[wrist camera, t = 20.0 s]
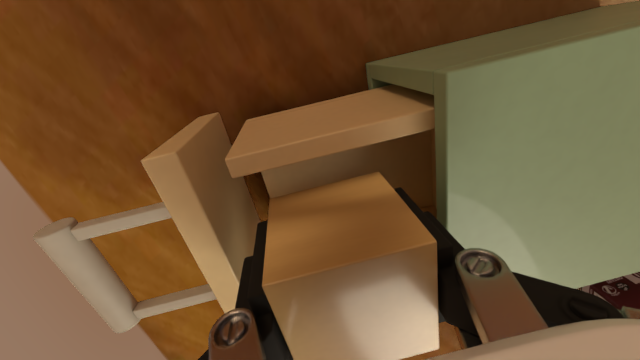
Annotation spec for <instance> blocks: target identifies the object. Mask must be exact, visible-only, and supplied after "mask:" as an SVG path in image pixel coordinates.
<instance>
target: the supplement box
mask: <svg viewBox="0 0 640 360" xmlns="http://www.w3.org/2000/svg"><path fill="white" fill-rule="evenodd" d="M582 291H584V292H587V293H590V294H593V295H596V296H598V297H600V298H602V299H603V300H605V301H607V302H609V303H610V304H611V305H613V306H614V307H615V308H616V309H619V310H622V307H623V306H625V307H630V308H635V309H640V272H636V273H633V274H629V275H625V276H621V277H618V278H614V279H610V280H606V281H603V282H599V283H595V284H591V285H588V286H584V287H582Z"/></svg>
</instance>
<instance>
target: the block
mask: <svg viewBox="0 0 640 360" xmlns="http://www.w3.org/2000/svg"><path fill="white" fill-rule="evenodd" d="M262 288H263V290H264V292H265V295H266V297H267V299H268V302H269V304H270V306H271V309H272V311H273V313H274V315H275V318H276V320H277V322H278V325H279V327H280V329H281V332H282V334H283V336H284V339H285V341H286V343H287V346H288V348H289V350H290V353H291V355H292V357H293V360H400V359H403V358H407V357H411V356H415V355H418V354H422V353H426V352H430V351H433V350H437V349H439V313H438V269H437V241H436V240H435V238H434V237H433V236H432V235H431V234H430V232H429V231H428V230H427V229H426V228H425V226H424V225H423V224H422V223H421V221H420V220H419V219H418V218H417V217H416V215H415V214H414V213H413V212H412V211H411V209H410V208H409V207H408V206H407V205H406V203H405V202H404V201H403V200H402V199H401V197H400V196H399V195H398V194H397V193H396V191H395V190H394V189H393V188H392V186H391V185H390V184H389V183H388V182H387V180H386V179H385V178H384V177H383V176H382V174H381V173H380V172H374V173H370V174H366V175H362V176H358V177H354V178H350V179H346V180H342V181H338V182H334V183H330V184H326V185H322V186H318V187H314V188H310V189H306V190H302V191H298V192H294V193H290V194H286V195H282V196H278V197H274V198H270V200H269V212H268V223H267V235H266V246H265V257H264V269H263V280H262Z"/></svg>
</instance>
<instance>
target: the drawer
mask: <svg viewBox="0 0 640 360" xmlns="http://www.w3.org/2000/svg"><path fill="white" fill-rule="evenodd" d="M141 163H142V165H143V166H144V168H145V170H146V172H147V174H148V175H149V177H150V179H151V181H152V183H153V184H154V186H155V188H156V190H157V192H158V193H159V195H160V197H161V199H162V201H163V202H161V203H157V204H153V205H149V206H145V207H141V208H137V209H133V210H129V211H125V212H121V213H117V214H113V215H109V216H105V217H101V218H97V219H93V220H89V221H85V222H81V223H78V222H77V220H76V219H75V218H72V217H70V218H65V219H61V220H58V221H56V222H53V223H51V224H49V225H47V226H45V227H44V228H42V229H40V230H39V231H38V232H36V233H35V234H34V236H33V239H34V240H35V241H36V242H37V243H38V245H39V246H40V247H41V248H42V249H43V250H44V251H45V252H46V254H47V255H48V256H49V257H50V258H51V260H52V261H53V262H54V263H55V264H56V265H57V267H58V268H59V269H60V270H61V271H62V272H63V273H64V274H65V276H66V277H67V278H68V279H69V280H70V281H71V283H72V284H73V285H74V286H75V287H76V288H77V290H79V292H80V293H81V294H82V295H83V296H84V298H85V299H86V300H87V301H88V302H89V303H90V305H91V306H92V307H93V308H94V309H95V310H96V311H97V313H98V314H99V315H100V316H101V317H102V318H103V319H104V321H105V322H106V323H107V324H108V325H109V326H110V327H111V329H112V330H113V331H114V332H116V333H122V332H125V331H127V330H129V329H131V328H132V327H134V326H135V325H136V324H137V323H138V322H139V321H140V320H141V318H145V317H149V316H153V315H157V314H161V313H164V312H168V311H172V310H176V309H180V308H184V307H188V306H191V305H195V304H199V303H203V302H207V301H211V300H215V299H217V300H218V302H219V304H220V306H221V307H222V309H223V311H224V313H227V312H228V311H230V310H233V309H235V305H236V300H237V294H238V289H239V284H240V278H241V273H242V268H243V262H244V259H245V258H246V257H249V256H253V252H254V245H255V238H256V231H257V224H258V223H259V222H260V219H259V217H258V214H257V211H256V209H255V206H254V203H253V201H252V198H251V195H250V193H249V190H248V188H247V185H246V182H245V180H244V177H243V176H246V175H250V174H254V173H258V172H261V174H262V177H263V179H264V182H265V185H266V188H267V191H268V194H269V197H270V198H274V197H278V196H282V195H286V194H290V193H294V192H298V191H302V190H306V189H310V188H314V187H318V186H322V185H326V184H330V183H334V182H338V181H342V180H346V179H350V178H354V177H358V176H362V175H366V174H370V173H374V172H380V173H381V174H382V176H383V177H384V178H385V179H386V180H387V182H388V183H389V184H390V185H391V186H392V188H393V189H395V188H398V187H401V188H402V189H403V190H404V191H405V192H406V193H407V195H408V196H409V197H410V198H411V199H412V200H413V201H414V202H415V203H416V205H417V206H418V207H419V208H420V209H421V210H422V211H423V212H426V211H429V212H430V213H432V215H433V216H434V217H435V218H436V219H437V204H436V156H435V108H434V95H431V94H428V93H424V92H420V91H416V90H413V89H409V88H405V87H402V86H398V85H394V84H392V85H388V86H384V87H379V88H375V89H371V90H367V91H363V92H359V93H355V94H351V95H346V96H342V97H338V98H334V99H330V100H326V101H322V102H318V103H314V104H309V105H305V106H301V107H297V108H293V109H289V110H285V111H281V112H276V113H272V114H268V115H264V116H260V117H256V118H252V119H248V120H246V121H245V123H244V125H243V127H242V129H241V130H240V132H239V134H238V136H237V138H236V140H235V142H234V143H233V145H231V143H230V140H229V137H228V135H227V132H226V129H225V127H224V124H223V121H222V119H221V116H220V114H219V112H217V113H213V114H208V115H204V116H200V117H198V118H197V119H195V120H194V121H193V122H191V123H190V124H189V125H187V126H186V127H185V128H183V129H182V130H181V131H179V132H178V133H177V134H175V135H174V136H173V137H171V138H170V139H169V140H167V141H166V142H165V143H163V144H162V145H161V146H160V147H158V148H157V149H156V150H154V151H153V152H152V153H150V154H149V155H148V156H146V157H145V158H144V159H142V160H141ZM169 218H172V219H173V221H174V222H175V224H176V226H177V228H178V230H179V231H180V233H181V235H182V237H183V239H184V241H185V242H186V244H187V246H188V248H189V250H190V251H191V253H192V255H193V257H194V259H195V260H196V262H197V264H198V266H199V268H200V269H201V271H202V273H203V275H204V277H205V278H206V280H207V282H208V284H206V285H202V286H198V287H195V288H191V289H187V290H183V291H179V292H175V293H171V294H167V295H163V296H160V297H156V298H152V299H148V300H144V301H140V302H137V300H136V299H135V298H134V296H133V295H132V294H131V292H130V291H129V290H128V288H127V287H126V286H125V284H124V283H123V282H122V280H121V279H120V278H119V276H118V275H117V274H116V272H115V271H114V270H113V268H112V267H111V266H110V264H109V263H108V262H107V260H106V259H105V258H104V256H103V255H102V254H101V252H100V251H99V250H98V248H97V247H96V246H95V244H94V243H93V242H92V240H91V239H90V238H93V237H97V236H101V235H105V234H109V233H113V232H117V231H121V230H125V229H129V228H133V227H137V226H141V225H145V224H149V223H153V222H157V221H161V220H165V219H169Z"/></svg>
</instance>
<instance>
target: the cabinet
mask: <svg viewBox="0 0 640 360" xmlns="http://www.w3.org/2000/svg"><path fill="white" fill-rule="evenodd" d="M366 73H367V81H368V89H369V90H371V89H375V88H379V87H384V86H388V85H392V84H394V85H398V86H402V87H405V88H409V89H413V90H416V91H420V92H424V93H428V94H431V95H434V108H435V156H436V204H437V220H438V221H439V222H440V223H441V224H442V225H443V226H444V227H445V228H446V229H447V231H448V232H449V233H450V234H451V235H452V236H453V237H454V238H455V239H456V240H457V241H458V242H459V243H460V244H461V246H462V247H463V248H464V249H469V248H481V249H485V250H489V251H491V252H494V253H495V254H497V255H498V256H500V257H501V258H502V259H503V260H504V261H505V262H506V264H507V265H508V267H509V268H510V270H511V271H512V272H516V273H519V274H523V275H526V276H530V277H534V278H537V279H541V280H544V281H548V282H552V283H555V284H559V285H562V286H566V287H570V288H573V289H576V288H580V287H584V286H588V285H591V284H595V283H599V282H603V281H606V280H610V279H614V278H618V277H621V276H625V275H629V274H633V273H636V272H640V1H635V2H628V3H622V4H616V5H608V6H602V7H598V8H594V9H589V10H585V11H581V12H577V13H573V14H569V15H564V16H560V17H556V18H552V19H548V20H544V21H539V22H535V23H531V24H527V25H523V26H519V27H514V28H510V29H506V30H502V31H498V32H494V33H489V34H485V35H481V36H477V37H473V38H469V39H464V40H460V41H456V42H452V43H448V44H444V45H439V46H435V47H431V48H427V49H423V50H419V51H414V52H410V53H406V54H402V55H398V56H394V57H390V58H385V59H381V60H377V61H373V62H369V63H366Z"/></svg>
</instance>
